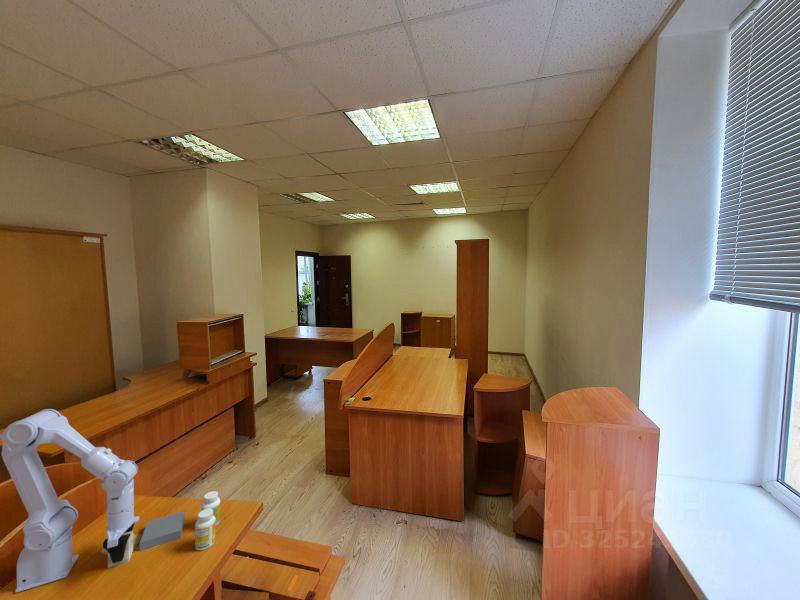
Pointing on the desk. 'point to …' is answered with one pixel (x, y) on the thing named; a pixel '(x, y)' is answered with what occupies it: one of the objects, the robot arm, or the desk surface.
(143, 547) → the base block
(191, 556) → the desk surface
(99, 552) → the desk surface
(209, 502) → the supplement bottle
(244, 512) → the desk surface
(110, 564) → the cream block
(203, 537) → the supplement bottle
